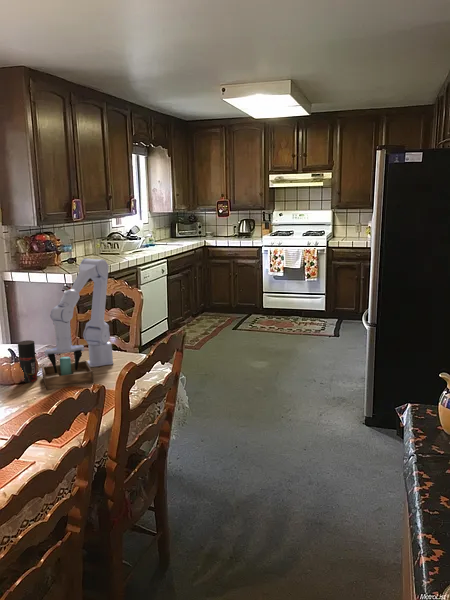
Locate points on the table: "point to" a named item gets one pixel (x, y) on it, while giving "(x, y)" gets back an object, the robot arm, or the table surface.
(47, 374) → the box
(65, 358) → the peg
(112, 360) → the robot arm
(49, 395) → the table surface
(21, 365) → the deodorant
